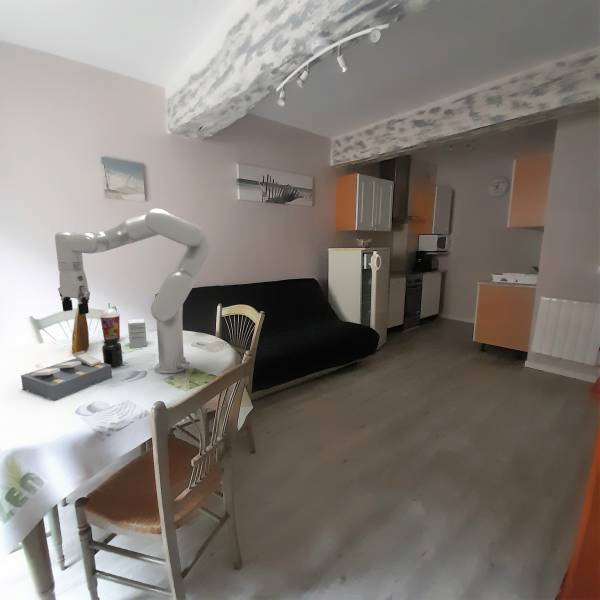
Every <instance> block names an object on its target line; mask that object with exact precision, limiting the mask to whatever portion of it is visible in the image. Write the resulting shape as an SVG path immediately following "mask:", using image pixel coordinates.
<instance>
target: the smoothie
mask: <svg viewBox="0 0 600 600" xmlns="http://www.w3.org/2000/svg"><path fill="white" fill-rule="evenodd" d="M107 305H108V307H107V308H106V309H104V310H103V311H101V314H100V315H99V318H100V322H101V329H102V335H103V336H102V337H103V339H104V338H106V337H110V336H116V337H117V338H118V342H119V341H120V339H121V338H120V335H121V334H120V333H121V332H120V331H121V329H120V326H121V325H120V319H121V318H120V316H121V315H120V313H119V312H118V310H117V309H115V308H112V307H111V306H110V305H111V303H110V302H108V303H107Z"/></svg>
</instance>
